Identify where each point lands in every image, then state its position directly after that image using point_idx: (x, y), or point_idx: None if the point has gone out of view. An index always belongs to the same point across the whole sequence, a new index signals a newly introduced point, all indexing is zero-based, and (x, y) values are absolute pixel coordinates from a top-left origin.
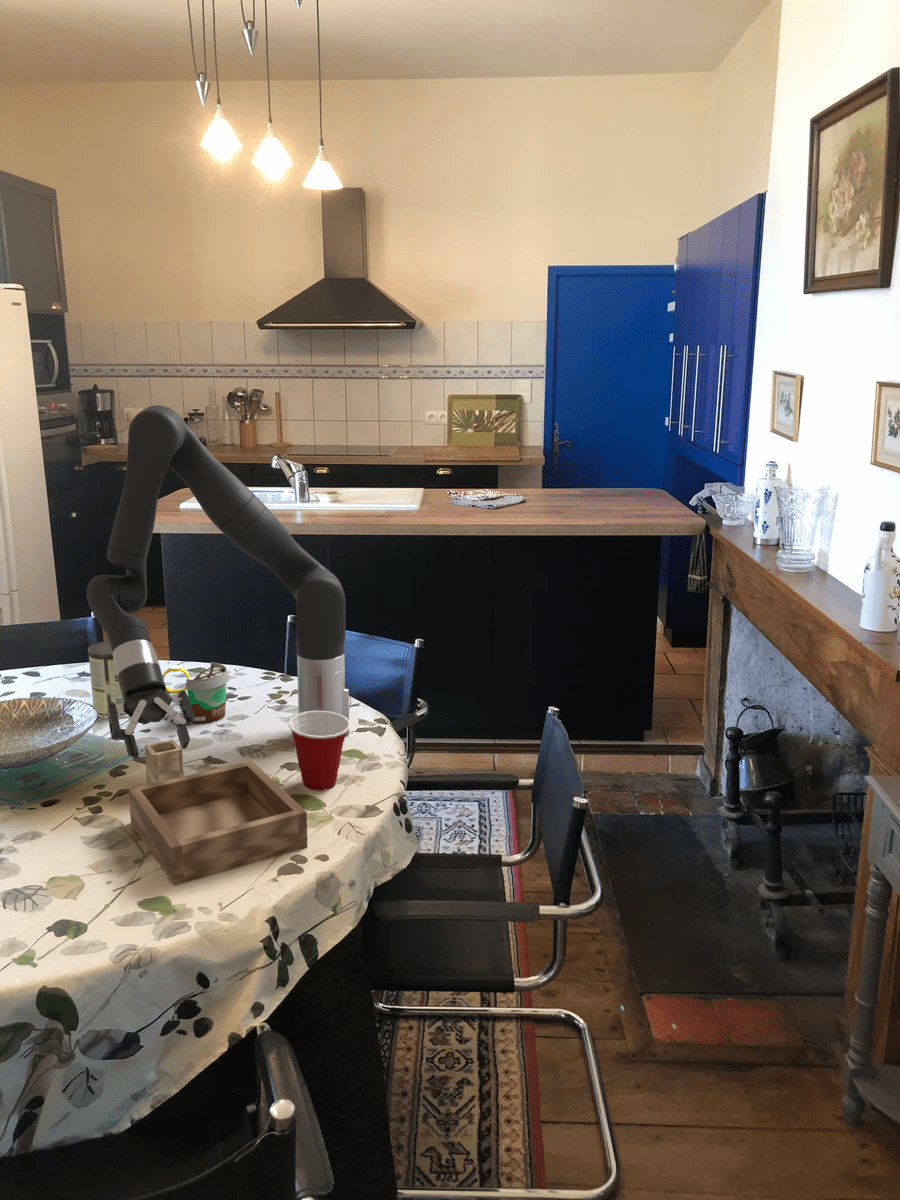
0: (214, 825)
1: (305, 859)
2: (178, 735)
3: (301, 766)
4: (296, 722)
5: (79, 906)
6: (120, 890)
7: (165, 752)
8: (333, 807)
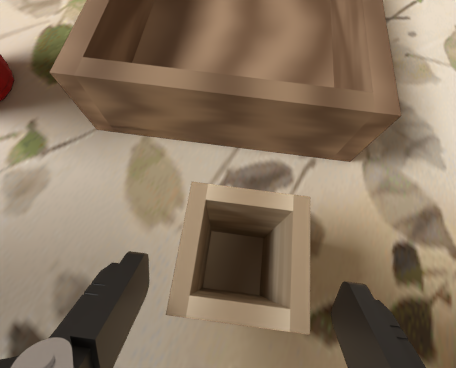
0: (236, 49)
1: None
2: (118, 345)
3: None
4: None
5: (452, 13)
6: (401, 14)
7: (259, 192)
8: (44, 17)
